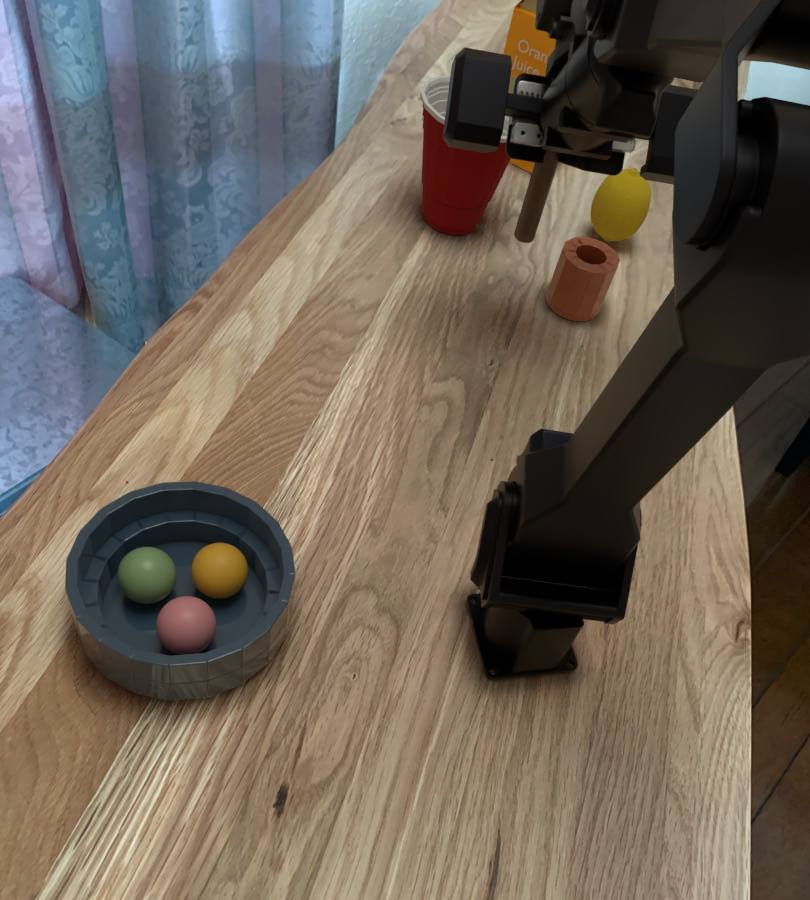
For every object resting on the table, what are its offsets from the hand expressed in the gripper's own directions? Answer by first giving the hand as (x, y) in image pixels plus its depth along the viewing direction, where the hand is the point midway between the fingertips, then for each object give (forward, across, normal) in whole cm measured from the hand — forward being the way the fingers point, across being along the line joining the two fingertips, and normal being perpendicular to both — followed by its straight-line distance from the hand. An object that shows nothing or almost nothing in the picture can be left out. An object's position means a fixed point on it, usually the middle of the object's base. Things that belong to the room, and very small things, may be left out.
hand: (545, 152), depth 72 cm
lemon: (+18, -12, +2) cm, 21 cm away
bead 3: (-18, +21, +34) cm, 44 cm away
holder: (+10, -7, +10) cm, 15 cm away
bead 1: (-18, +26, +35) cm, 47 cm away
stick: (+4, 0, +6) cm, 7 cm away
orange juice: (+29, -4, -9) cm, 30 cm away
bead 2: (-20, +22, +37) cm, 48 cm away
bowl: (-17, +23, +37) cm, 47 cm away
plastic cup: (+17, +5, +2) cm, 18 cm away
